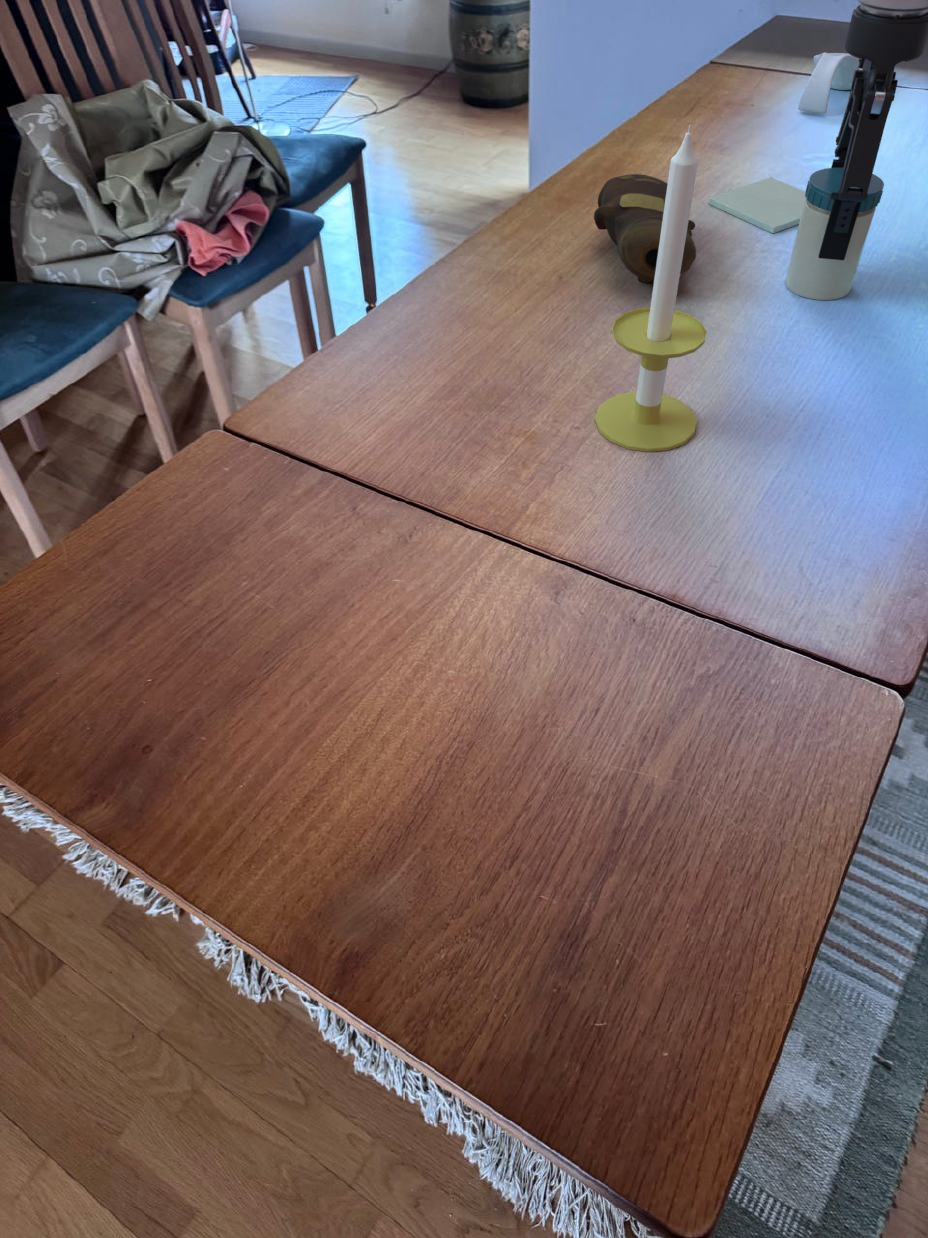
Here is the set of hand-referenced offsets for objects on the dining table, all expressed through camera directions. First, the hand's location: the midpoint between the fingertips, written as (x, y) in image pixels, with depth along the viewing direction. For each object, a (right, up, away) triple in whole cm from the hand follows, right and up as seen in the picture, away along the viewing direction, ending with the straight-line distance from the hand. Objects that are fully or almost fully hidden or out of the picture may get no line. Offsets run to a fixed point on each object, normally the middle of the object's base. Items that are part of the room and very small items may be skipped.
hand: (830, 237), depth 101 cm
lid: (0, +4, -4) cm, 6 cm away
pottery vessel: (-20, +1, +10) cm, 22 cm away
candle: (-24, -24, -14) cm, 37 cm away
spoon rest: (+21, +46, +50) cm, 71 cm away
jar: (0, -4, +4) cm, 6 cm away
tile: (0, +13, +19) cm, 23 cm away
